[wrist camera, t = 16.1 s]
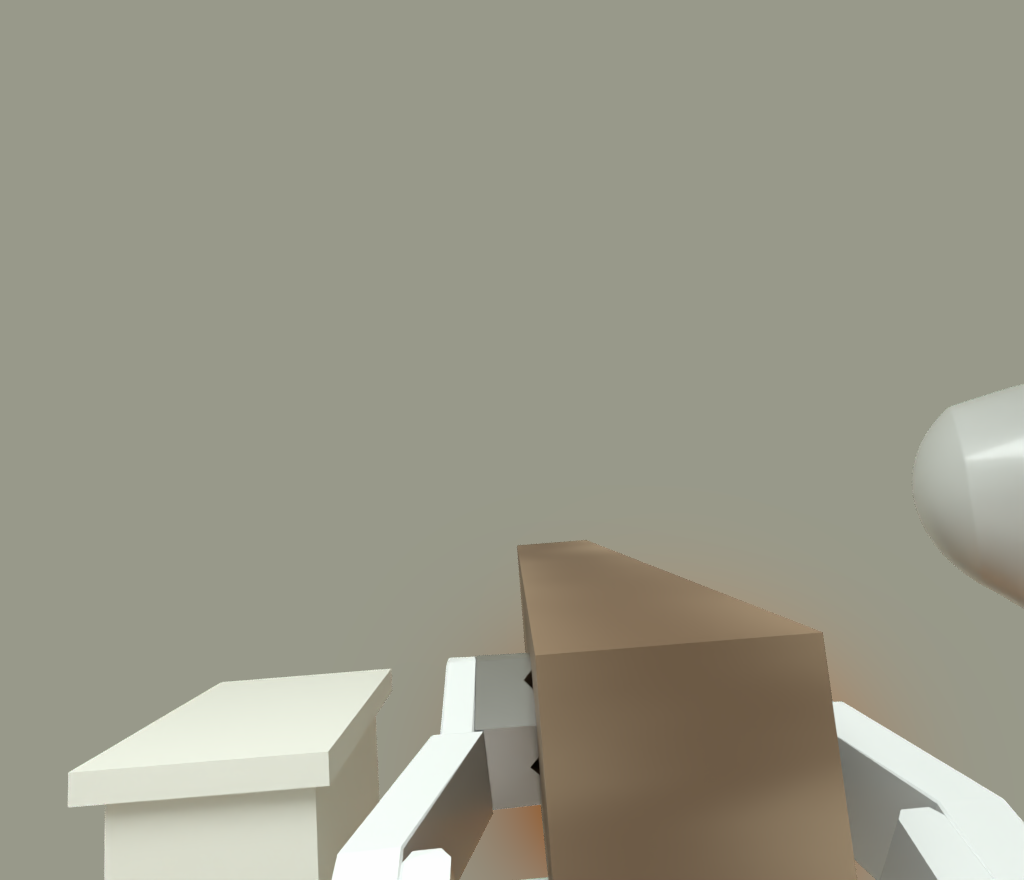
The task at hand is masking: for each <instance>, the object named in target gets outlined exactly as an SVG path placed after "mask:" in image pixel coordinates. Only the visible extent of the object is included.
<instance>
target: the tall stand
mask: <svg viewBox="0 0 1024 880" xmlns="http://www.w3.org/2000/svg"><path fill="white" fill-rule="evenodd" d="M391 692H392V675H391V669H381V670H369V671H357V672H344V673H332V674H319V675H306V676H294V677H282V678H268V679H256V680H244V681H231V682H221V683H219V684H218V685H216V686H214V687H212V688H211V689H209V690H207V691H206V692H204V693H202V694H201V695H199V696H197V697H196V698H194V699H192V700H190V701H189V702H187V703H185V704H184V705H182V706H180V707H179V708H177V709H175V710H173V711H172V712H170V713H168V714H167V715H165V716H164V717H162V718H160V719H158V720H157V721H155V722H153V723H151V724H150V725H148V726H147V727H145V728H143V729H141V730H140V731H138V732H136V733H135V734H133V735H131V736H130V737H128V738H126V739H124V740H123V741H121V742H120V743H118V744H116V745H114V746H113V747H111V748H109V749H108V750H106V751H104V752H102V753H101V754H99V755H98V756H96V757H94V758H92V759H91V760H89V761H87V762H86V763H84V764H82V765H81V766H79V767H77V768H76V769H74V770H72V771H70V772H69V773H68V807H78V806H89V805H102V804H105V858H104V880H332V876H333V871H334V867H335V863H336V858H337V854H338V853H339V852H340V850H341V849H342V848H343V847H344V845H345V844H346V843H347V841H348V840H349V839H350V838H351V836H352V835H353V834H354V833H355V831H356V830H357V829H358V828H359V826H360V825H361V824H362V823H363V821H364V820H365V819H366V818H367V816H368V815H369V814H370V813H371V811H372V810H373V809H374V808H375V806H376V805H377V804H378V803H379V781H378V759H377V737H376V715H377V713H378V712H379V710H380V708H381V707H382V705H383V704H384V703H385V701H386V700H387V698H388V697H389V695H390V694H391Z"/></svg>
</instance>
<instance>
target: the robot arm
mask: <svg viewBox="0 0 1024 880" xmlns="http://www.w3.org/2000/svg"><path fill="white" fill-rule="evenodd" d="M912 489H913V498H914V502H915V507H916V510H917V513H918V515H919V518H920V521H921V523H922V525H923V527H924V528H925V531H926V532H927V534H928V535H929V536H930V538H931V540H932V541H933V543H934V544H935V545H936V547H937V548H938V549H939V550H940V551H941V552H942V554H943V555H944V556H945V557H946V558H947V559H948V560H949V561H950V562H951V563H953V565H955V566H956V567H957V568H958V569H960V570H961V571H962V572H963V573H965V574H966V575H967V576H969V577H970V578H972V579H973V580H975V581H976V582H978V583H979V584H981V585H983V586H985V587H987V588H989V589H991V590H993V591H995V592H996V593H998V594H1000V595H1002V596H1003V597H1005V598H1007V599H1008V600H1010V601H1012V602H1013V603H1015V604H1017V605H1018V606H1020V607H1022V608H1023V609H1024V384H1022V385H1018V386H1014V387H1011V388H1007V389H1004V390H1000V391H997V392H994V393H991V394H988V395H984V396H981V397H978V398H975V399H972V400H969V401H965V402H962V403H959V404H956V405H953V406H950V407H949V408H947V409H946V410H945V411H944V412H943V413H942V414H941V415H940V416H939V417H938V418H937V420H936V421H935V422H934V424H933V425H932V426H931V427H930V429H929V430H928V432H927V433H926V435H925V437H924V438H923V440H922V443H921V445H920V447H919V449H918V452H917V455H916V458H915V462H914V467H913V473H912ZM832 702H833V701H832ZM833 709H834V717H835V724H836V731H837V738H838V745H839V752H840V760H841V767H842V774H843V781H844V788H845V796H846V803H847V810H848V817H849V824H850V831H851V839H852V846H853V853H854V860H856V861H857V862H858V863H859V864H860V865H861V866H862V867H863V868H864V869H865V870H866V871H867V872H868V873H869V874H871V875H872V876H873V877H874V878H875V879H876V880H1024V822H1023V821H1022V820H1021V819H1020V818H1019V817H1018V815H1017V814H1016V813H1015V812H1014V811H1013V810H1012V808H1011V807H1010V806H1009V805H1008V804H1007V803H1006V801H1005V800H1004V799H1003V798H1001V797H1000V796H998V795H996V794H995V793H993V792H991V791H990V790H988V789H986V788H985V787H983V786H981V785H979V784H978V783H976V782H975V781H973V780H971V779H970V778H968V777H966V776H965V775H963V774H961V773H960V772H958V771H956V770H955V769H953V768H951V767H950V766H948V765H946V764H945V763H943V762H941V761H940V760H938V759H936V758H935V757H933V756H932V755H930V754H928V753H927V752H925V751H923V750H922V749H920V748H918V747H917V746H915V745H913V744H912V743H910V742H908V741H907V740H905V739H903V738H902V737H900V736H898V735H896V734H895V733H893V732H892V731H890V730H888V729H887V728H885V727H883V726H882V725H880V724H878V723H877V722H875V721H873V720H872V719H870V718H869V717H867V716H865V715H863V714H862V713H860V712H859V711H857V710H855V709H854V708H852V707H850V706H849V705H847V704H845V703H843V702H833ZM538 757H539V753H538V738H537V724H536V713H535V702H534V692H533V685H532V670H531V659H530V653H518V654H501V655H483V656H477V657H458V658H449V659H448V662H447V666H446V676H445V689H444V699H443V711H442V721H441V733H440V735H432V736H431V737H430V738H429V740H428V741H427V742H426V744H425V745H424V746H423V747H422V749H421V750H420V751H419V753H418V754H417V755H416V756H415V757H414V759H413V760H412V761H411V762H410V764H409V765H408V766H407V768H406V769H405V770H404V771H403V772H402V774H401V775H400V776H399V778H398V779H397V780H396V781H395V783H394V784H393V785H392V786H391V787H390V789H389V790H388V791H387V793H386V794H385V795H384V796H383V798H382V799H381V800H380V801H379V803H378V804H377V805H376V806H375V808H374V809H373V810H372V811H371V813H370V814H369V815H368V816H367V818H366V819H365V820H364V821H363V823H362V824H361V825H360V826H359V828H358V829H357V830H356V831H355V833H354V834H353V835H352V836H351V838H350V839H349V840H348V841H347V843H346V844H345V845H344V847H343V848H342V849H341V850H340V852H339V853H338V854H337V858H336V863H335V867H334V871H333V876H332V880H459V879H460V877H461V875H462V873H463V871H464V869H465V867H466V865H467V863H468V861H469V859H470V857H471V856H472V853H473V852H474V850H475V848H476V846H477V844H478V842H479V840H480V838H481V836H482V834H483V832H484V830H485V828H486V826H487V824H488V822H489V820H490V818H491V817H492V815H493V810H496V809H505V808H514V807H523V806H531V805H540V804H542V797H541V782H540V769H539V758H538Z"/></svg>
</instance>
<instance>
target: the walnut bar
mask: <svg viewBox="0 0 1024 880" xmlns="http://www.w3.org/2000/svg"><path fill="white" fill-rule="evenodd" d="M517 550H518V563H519V577H520V590H521V603H522V616H523V629H524V642H525V652H526V653H530V659H531V670H532V685H533V692H534V702H535V713H536V724H537V738H538V753H539V757H538V758H539V769H540V782H541V797H542V804H541V811H542V821H543V831H544V841H545V850H546V861H547V871H548V880H857V875H856V868H855V860H854V853H853V846H852V839H851V831H850V824H849V817H848V810H847V803H846V796H845V788H844V781H843V774H842V767H841V760H840V752H839V745H838V738H837V731H836V724H835V717H834V709H833V702H832V695H831V688H830V681H829V674H828V666H827V659H826V652H825V646H824V638H823V632H820V631H818V630H815V629H813V628H810V627H807V626H805V625H803V624H800V623H797V622H795V621H792V620H790V619H787V618H784V617H782V616H779V615H777V614H774V613H772V612H769V611H766V610H764V609H761V608H759V607H756V606H754V605H751V604H749V603H746V602H744V601H741V600H738V599H736V598H733V597H731V596H728V595H726V594H723V593H720V592H718V591H715V590H713V589H710V588H708V587H705V586H702V585H700V584H697V583H695V582H692V581H690V580H687V579H684V578H682V577H679V576H676V575H674V574H671V573H669V572H667V571H664V570H661V569H659V568H656V567H654V566H651V565H648V564H646V563H643V562H641V561H638V560H636V559H633V558H631V557H628V556H625V555H623V554H620V553H618V552H615V551H613V550H610V549H608V548H605V547H602V546H600V545H597V544H595V543H592V542H589V541H587V540H581V541H569V542H557V543H556V542H555V543H545V544H544V543H543V544H531V545H518V546H517Z"/></svg>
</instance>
